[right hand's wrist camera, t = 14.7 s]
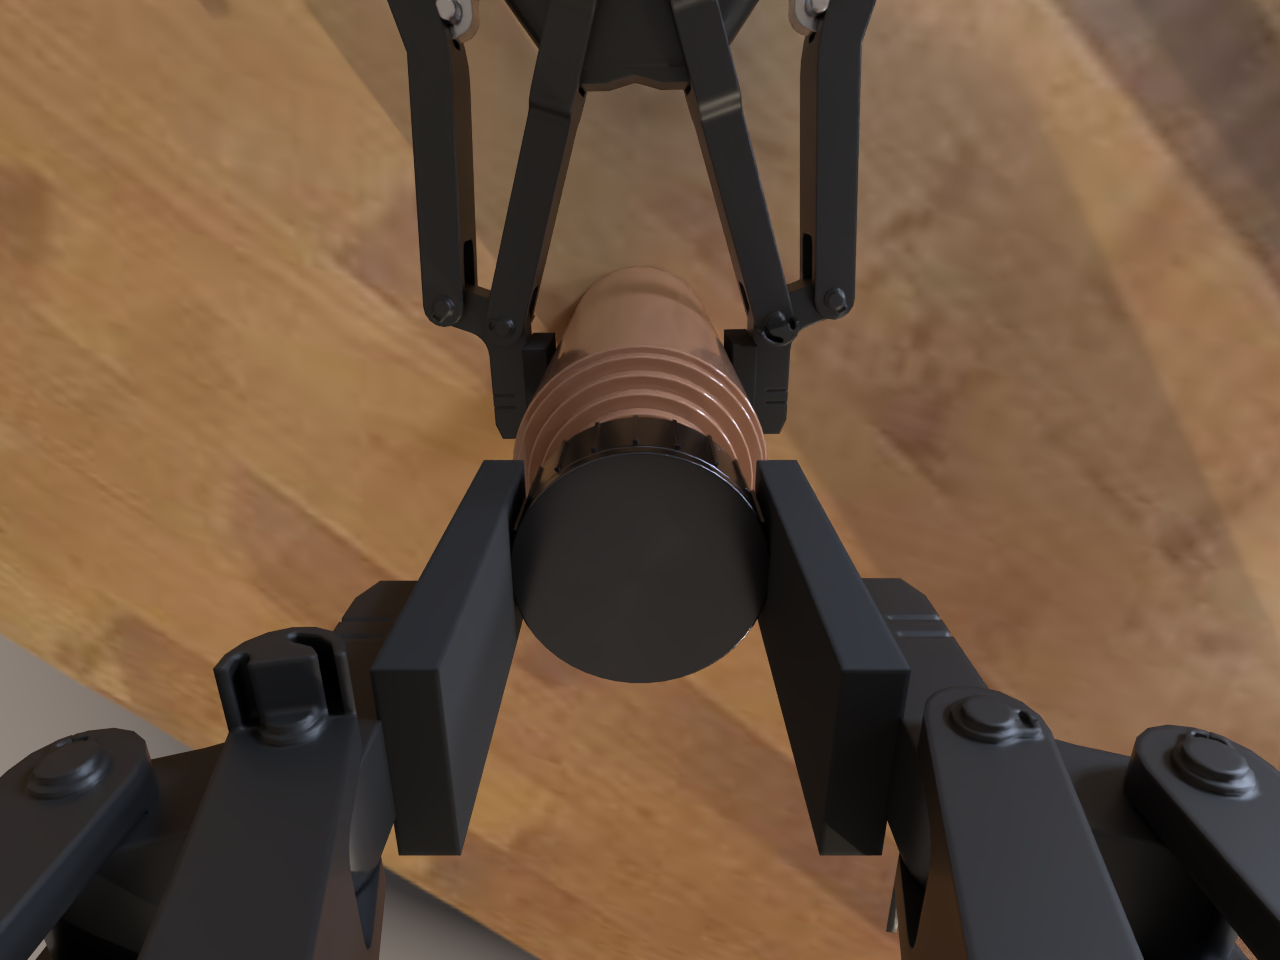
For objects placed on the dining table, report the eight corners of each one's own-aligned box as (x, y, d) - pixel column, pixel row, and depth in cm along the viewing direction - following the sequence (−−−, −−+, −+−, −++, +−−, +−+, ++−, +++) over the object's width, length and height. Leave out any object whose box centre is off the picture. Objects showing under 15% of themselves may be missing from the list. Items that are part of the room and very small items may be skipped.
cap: (739, 393, 14) (754, 426, 12) (771, 605, 15) (789, 663, 14) (496, 438, 14) (475, 477, 12) (553, 642, 16) (542, 703, 14)
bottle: (706, 259, 30) (806, 387, 12) (714, 401, 32) (809, 688, 14) (560, 273, 30) (443, 419, 12) (578, 412, 33) (501, 712, 14)
